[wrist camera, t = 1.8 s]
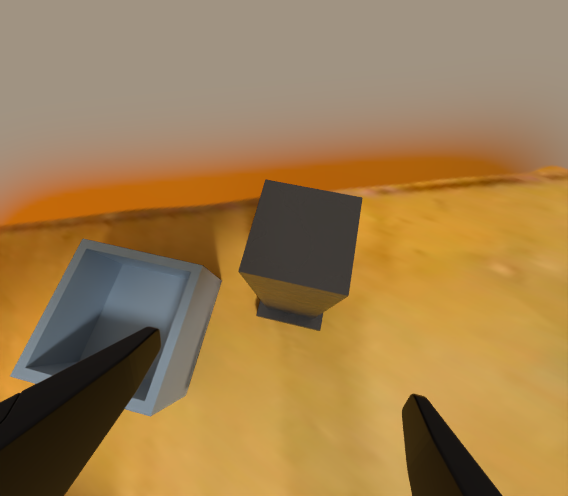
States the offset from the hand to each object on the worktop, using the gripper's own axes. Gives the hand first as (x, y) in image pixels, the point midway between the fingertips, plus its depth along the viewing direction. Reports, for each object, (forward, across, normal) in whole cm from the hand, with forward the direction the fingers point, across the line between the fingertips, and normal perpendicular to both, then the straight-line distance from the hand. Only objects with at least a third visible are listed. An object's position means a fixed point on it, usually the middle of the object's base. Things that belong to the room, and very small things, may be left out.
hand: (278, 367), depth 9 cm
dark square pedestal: (+11, 0, +5) cm, 12 cm away
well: (+8, +11, +8) cm, 16 cm away
